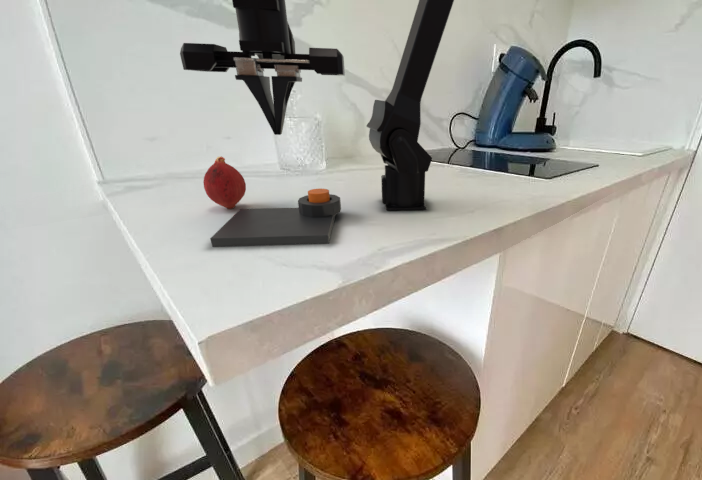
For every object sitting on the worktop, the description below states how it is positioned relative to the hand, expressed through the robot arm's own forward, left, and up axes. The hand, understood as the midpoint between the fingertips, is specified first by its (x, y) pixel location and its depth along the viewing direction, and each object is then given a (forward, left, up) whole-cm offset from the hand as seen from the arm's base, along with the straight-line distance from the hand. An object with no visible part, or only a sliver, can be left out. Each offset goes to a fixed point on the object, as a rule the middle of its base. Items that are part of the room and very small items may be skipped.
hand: (278, 134), depth 50 cm
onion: (+10, -4, -12) cm, 16 cm away
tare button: (-5, +2, -9) cm, 10 cm away
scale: (0, +6, -12) cm, 13 cm away
